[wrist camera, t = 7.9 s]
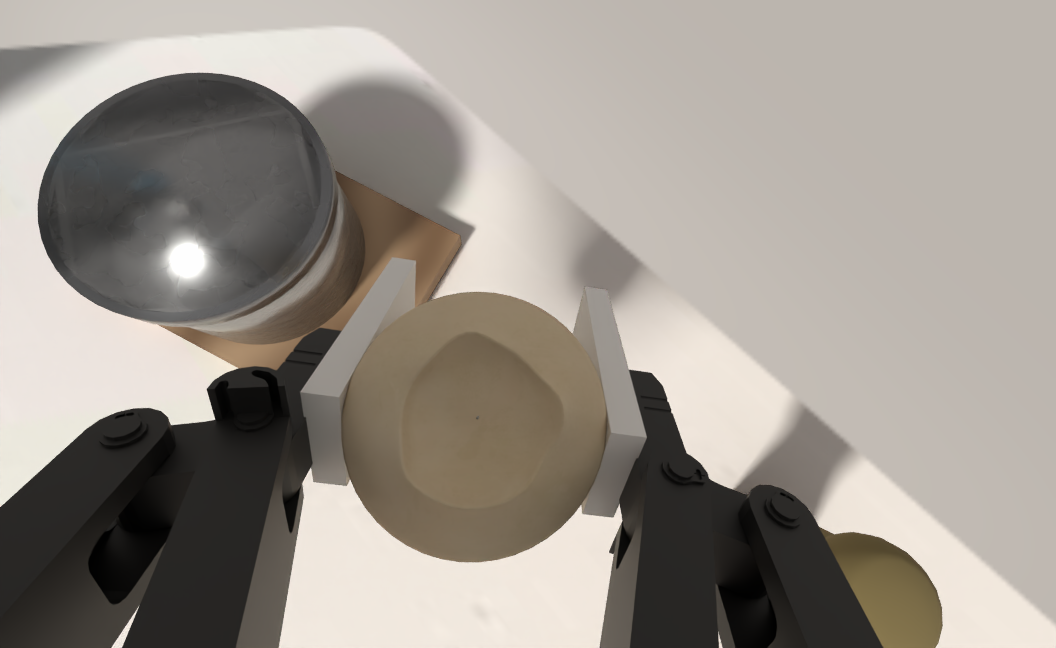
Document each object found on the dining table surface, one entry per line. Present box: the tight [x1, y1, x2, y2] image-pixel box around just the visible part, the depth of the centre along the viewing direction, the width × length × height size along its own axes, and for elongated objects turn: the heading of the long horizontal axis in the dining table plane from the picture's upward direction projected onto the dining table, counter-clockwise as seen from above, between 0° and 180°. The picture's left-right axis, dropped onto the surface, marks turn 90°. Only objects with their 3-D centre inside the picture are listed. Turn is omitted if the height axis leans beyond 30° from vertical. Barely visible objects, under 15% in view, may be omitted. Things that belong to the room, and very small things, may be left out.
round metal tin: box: [38, 73, 365, 345], centre depth 25 cm, size 13×13×8 cm
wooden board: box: [159, 171, 461, 370], centre depth 30 cm, size 20×14×2 cm
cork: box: [747, 495, 943, 648], centre depth 24 cm, size 6×6×11 cm
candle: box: [341, 292, 607, 562], centre depth 13 cm, size 6×6×10 cm
